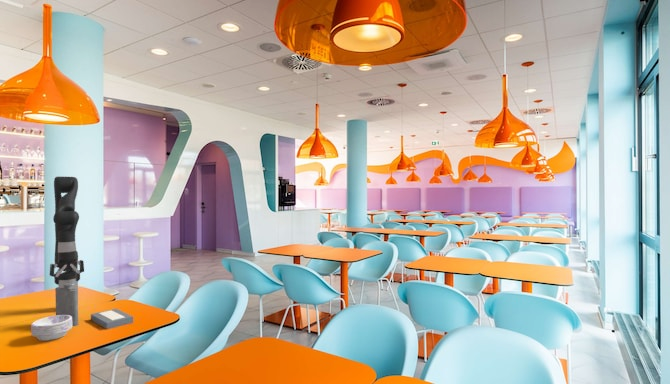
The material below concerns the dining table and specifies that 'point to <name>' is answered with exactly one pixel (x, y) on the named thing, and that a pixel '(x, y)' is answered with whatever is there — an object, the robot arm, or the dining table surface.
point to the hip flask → (67, 302)
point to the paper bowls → (51, 327)
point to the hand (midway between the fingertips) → (67, 282)
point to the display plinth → (111, 318)
